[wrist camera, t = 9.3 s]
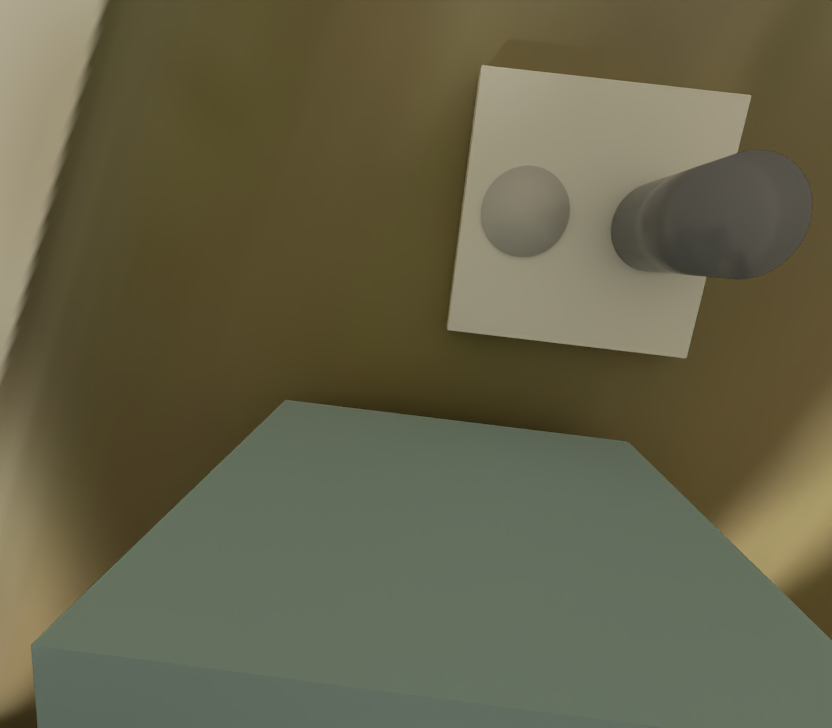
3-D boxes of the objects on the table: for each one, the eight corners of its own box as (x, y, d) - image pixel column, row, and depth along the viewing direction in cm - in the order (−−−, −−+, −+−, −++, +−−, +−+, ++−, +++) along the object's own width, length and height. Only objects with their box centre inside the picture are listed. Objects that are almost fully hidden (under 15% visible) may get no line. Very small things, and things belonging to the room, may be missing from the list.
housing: (270, 680, 16) (75, 1181, 7) (285, 399, 14) (31, 643, 5) (564, 718, 16) (718, 1274, 7) (628, 441, 14) (960, 765, 5)
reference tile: (446, 325, 15) (451, 359, 10) (478, 78, 13) (502, -21, 9) (670, 351, 15) (783, 398, 10) (728, 106, 13) (898, 21, 8)
